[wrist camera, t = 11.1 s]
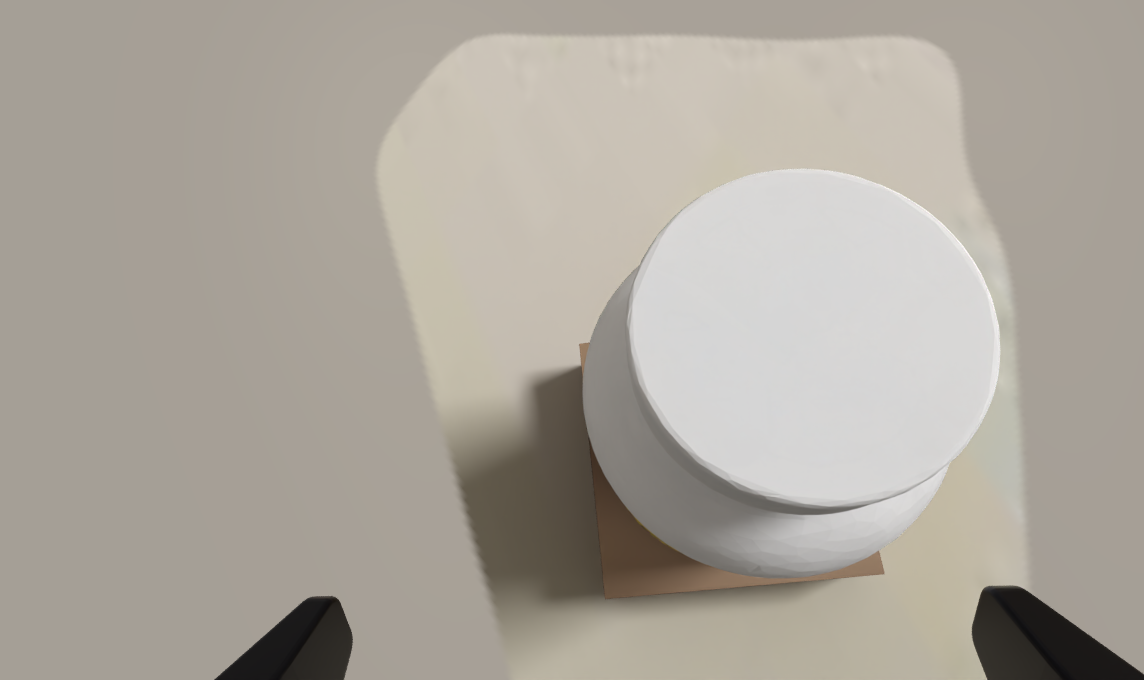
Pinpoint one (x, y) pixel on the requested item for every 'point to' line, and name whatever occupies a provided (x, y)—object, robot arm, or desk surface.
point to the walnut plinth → (668, 552)
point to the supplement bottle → (790, 373)
